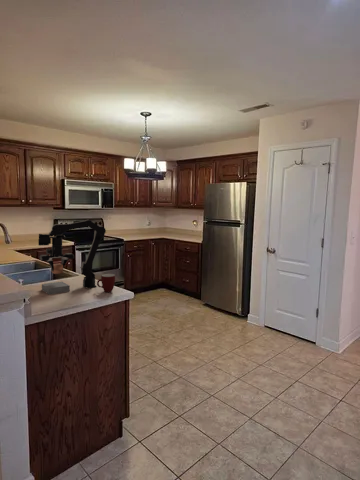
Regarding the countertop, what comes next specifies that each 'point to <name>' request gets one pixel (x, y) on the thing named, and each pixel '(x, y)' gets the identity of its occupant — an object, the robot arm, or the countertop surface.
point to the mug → (107, 282)
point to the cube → (57, 268)
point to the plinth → (55, 287)
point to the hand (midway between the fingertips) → (57, 270)
